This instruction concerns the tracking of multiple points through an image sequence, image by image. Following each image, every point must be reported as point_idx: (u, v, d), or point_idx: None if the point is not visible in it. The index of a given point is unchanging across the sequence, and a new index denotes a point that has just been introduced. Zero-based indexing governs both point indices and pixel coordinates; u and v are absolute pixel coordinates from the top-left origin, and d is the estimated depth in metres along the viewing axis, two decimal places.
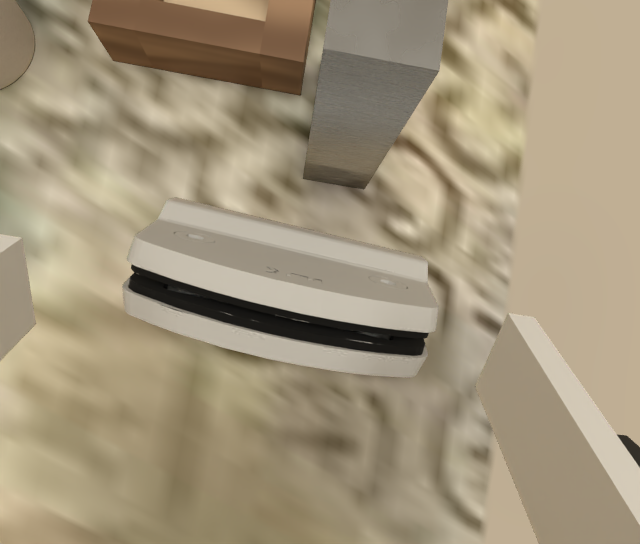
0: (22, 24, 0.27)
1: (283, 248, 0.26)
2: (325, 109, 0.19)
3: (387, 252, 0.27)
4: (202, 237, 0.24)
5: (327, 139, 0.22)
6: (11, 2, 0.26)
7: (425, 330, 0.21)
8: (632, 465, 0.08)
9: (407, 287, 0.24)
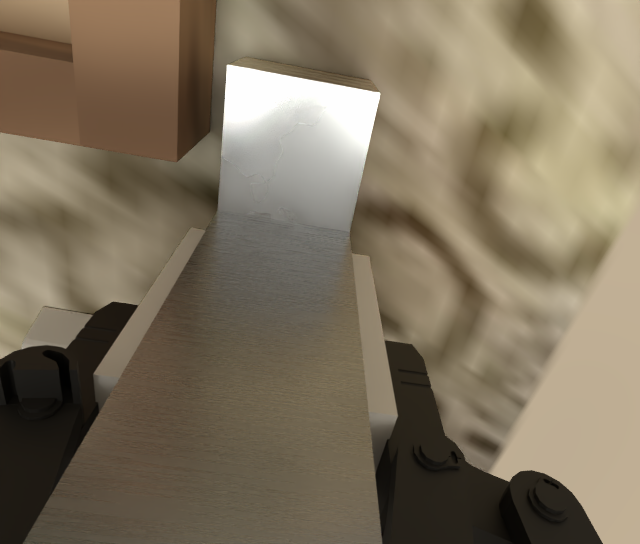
0: None
1: None
2: None
3: None
4: None
5: None
6: None
7: None
8: (384, 356, 0.10)
9: None
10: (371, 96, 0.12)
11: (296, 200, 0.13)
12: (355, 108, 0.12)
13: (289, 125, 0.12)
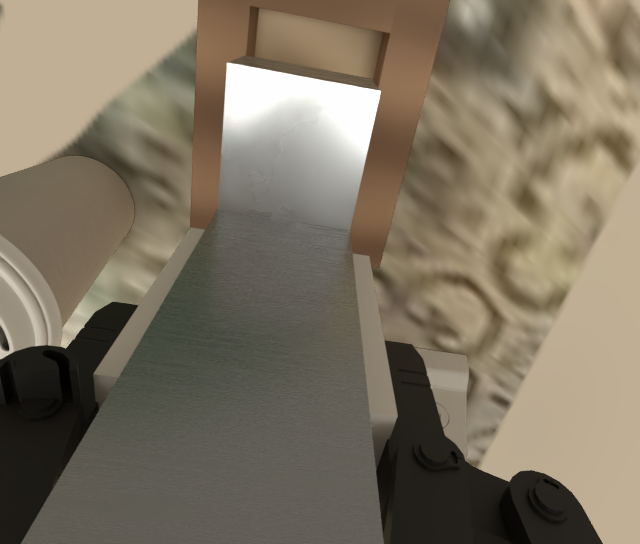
0: (125, 207, 0.30)
1: None
2: None
3: (438, 369, 0.36)
4: None
5: None
6: (116, 206, 0.28)
7: None
8: (385, 356, 0.10)
9: (449, 418, 0.34)
10: (371, 94, 0.12)
11: (296, 199, 0.13)
12: (355, 106, 0.12)
13: (289, 123, 0.12)
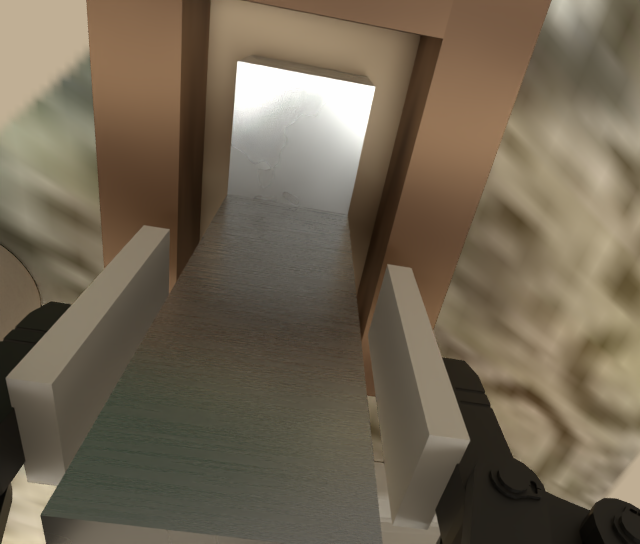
0: (17, 304, 0.19)
1: None
2: None
3: None
4: None
5: None
6: None
7: None
8: (445, 375, 0.10)
9: None
10: (367, 90, 0.13)
11: (299, 185, 0.15)
12: (352, 100, 0.13)
13: (293, 116, 0.14)
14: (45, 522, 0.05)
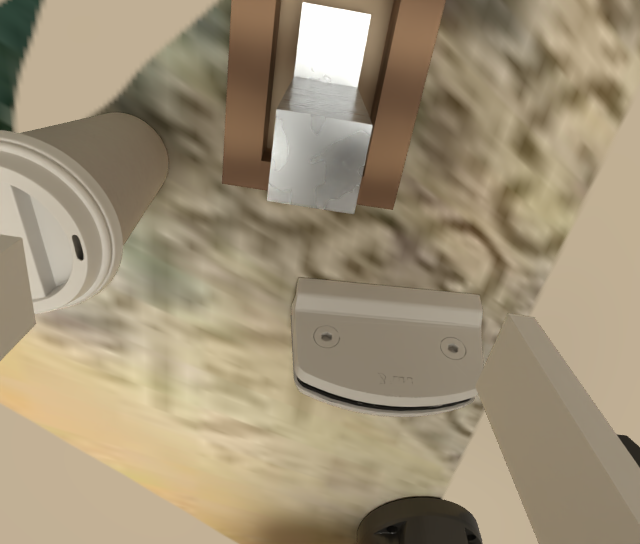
0: (162, 158, 0.33)
1: (380, 318, 0.39)
2: None
3: (453, 307, 0.39)
4: (330, 333, 0.37)
5: None
6: (155, 156, 0.31)
7: (474, 396, 0.36)
8: (631, 465, 0.08)
9: (466, 350, 0.37)
10: (367, 16, 0.26)
11: (332, 70, 0.28)
12: (359, 22, 0.27)
13: (329, 31, 0.27)
14: (277, 111, 0.19)
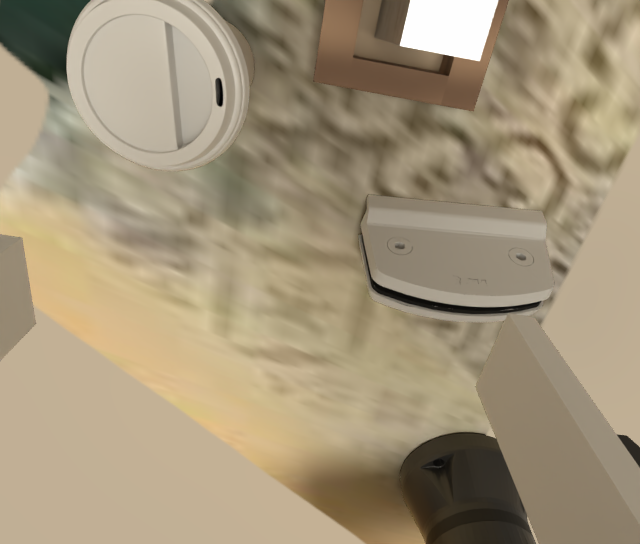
0: (252, 61, 0.34)
1: (449, 231, 0.40)
2: None
3: (518, 220, 0.40)
4: (403, 243, 0.39)
5: None
6: (250, 55, 0.33)
7: (545, 299, 0.37)
8: (632, 465, 0.08)
9: (533, 258, 0.39)
10: None
11: None
12: None
13: None
14: None
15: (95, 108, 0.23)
